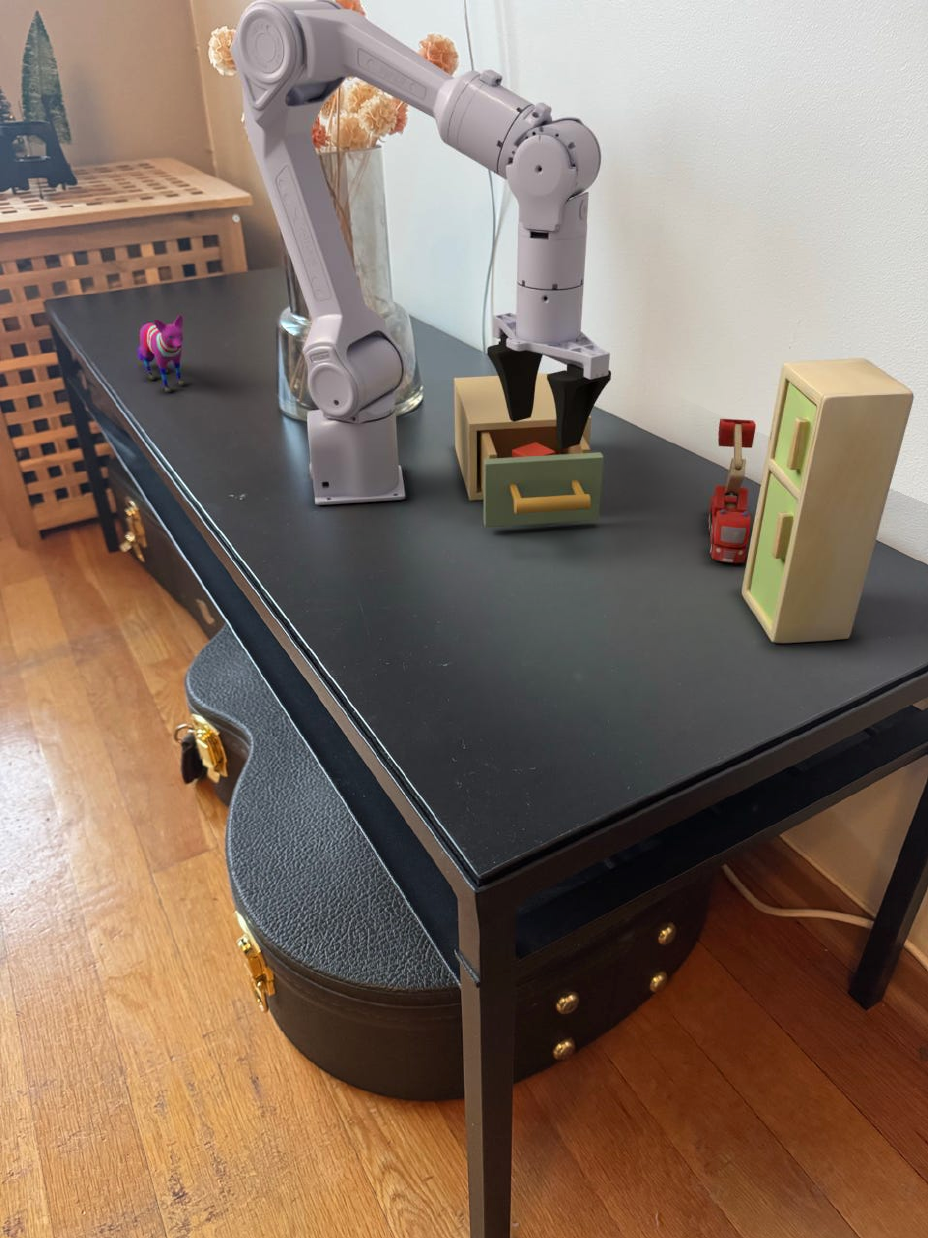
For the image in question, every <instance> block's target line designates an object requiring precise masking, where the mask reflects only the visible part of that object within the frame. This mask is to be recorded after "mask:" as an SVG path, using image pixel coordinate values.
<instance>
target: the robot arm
mask: <svg viewBox="0 0 928 1238" xmlns="http://www.w3.org/2000/svg"><path fill="white" fill-rule="evenodd" d="M235 29H236V30H235V33H234V36H233V38H232V41H231V44H230V47H229V51H230V53H231V57H232V60H233V63H234V65H235V68H236V71H237V75H238V78H239V80H240V83H241V86H242V87H241V88H242V90H241V91H242V105H243V121H244V127H245V132H246V134H247V138H248V141H249V143H250V147H251V149H252V153H253V155H254V158H255V161H256V163H257V166H258V169H259V172H260V175H261V178H262V181H263V184H264V186H265V190H266V193H267V195H268V198H269V201H270V203H271V206H272V209H273V212H274V215H275V218H276V221H277V224H278V226H279V230H280V232H281V235H282V238H283V241H284V244H285V248H286V249H287V252H288V255H289V259H290V261H291V264H292V267H293V269H294V272H295V276H296V279H297V281H298V284H299V287H300V290H301V292H302V295H303V298H304V302H305V304H306V308H307V310H308V313H309V316H310V318H311V319H310V320H311V322H312V323H311V326H310V329H309V332H308V334H307V337H306V340H305V342H304V345H303V348H302V353H303V354H302V355H303V356H304V359H305V362H306V366H307V389H308V392H309V395H310V397H311V399H312V401H313V402H314V404H315V406H316V407H317V408H318V409H316V410H309V411H307V414H306V415H307V417H306V418H307V419H306V420H307V421H306V423H307V439H308V447H309V457H310V462H309V474H310V475H309V476H310V479H311V480H312V484H313V493H314V503H315V505H317V506H324V505H325V506H326V505H339V504H341V505H342V504H354V503H355V504H358V503H369V502H370V503H372V502H388V501H402V500H405V499H406V490H405V483H404V477H403V470H402V466H401V465H399V447H398V428H397V427H398V426H397V412H396V410H397V409H396V401H397V400H398V399H397V397H398V396H397V389H399V388H400V387H401V385H403V382H404V381H405V380H406V376H407V360H406V357H405V354H404V352H403V350H402V348H401V347H400V345H399V344H398V343H397V342H396V340H395V339H394V338H393V336H392V335H391V333H390V331H389V328H388V326H387V322H386V319H385V318H384V317H383V316H382V315H380V314H379V313H378V312H376V311H375V310H373V309H372V308H370V307H369V306H368V305H367V304H366V302H365V299H364V295H363V293H362V290H361V286H360V284H359V280H358V277H357V274H356V270H355V268H354V266H353V261H352V259H351V255H350V252H349V248H348V246H347V242H346V240H345V236H344V233H343V231H342V227H341V223H340V221H339V218H338V214H337V212H336V207H335V205H334V202H333V198H332V196H331V193H330V189H329V187H328V183H327V180H326V178H325V174H324V171H323V168H322V164H321V161H320V159H319V156H318V152H317V149H316V146H315V142H314V140H313V136H312V131H313V129H314V126H315V124H316V121H317V120H318V117H319V115H320V113H321V110H322V108H323V106H324V105H325V104H326V103H327V102H328V101H329V100H330V98H331V97H332V96H333V95H334V94H335V93H336V91H337V90H338V89H339V88H340V87H341V86H342V84H343V83H344V82H345V81H346V80H347V79H348V78H350V77H354V78H357V79H359V80H361V81H363V82H364V83H367V84H368V85H370V86H372V87H374V88H376V89H378V90H380V91H382V92H384V93H386V94H388V95H389V96H391V97H394V98H395V99H397V100H399V101H401V102H403V103H404V104H407V106H410V107H412V108H414V109H416V110H418V111H420V112H422V113H424V114H426V115H427V116H429V117H431V118H433V119H434V121H435V123H436V128H437V131H438V135H439V137H440V139H441V141H442V142H443V143H444V144H446V145H447V146H449V147H451V148H452V149H454V150H456V151H457V152H459V153H461V154H462V155H464V156H465V157H468V158H469V159H471V160H472V161H474V162H475V163H477V164H479V165H481V166H482V167H483V168H486V169H487V170H489V171H490V172H492V173H493V174H495V175H497V176H498V177H500V178H502V179H503V180H506V181H507V184H508V186H509V189H510V191H511V192H512V195H513V196H514V197H515V199H516V201H517V203H518V225H517V262H516V263H517V264H516V265H517V266H516V267H517V268H516V276H517V277H516V304H515V305H516V307H515V308H516V309H515V310H516V312H515V314H514V313H512V312H506V313H501V314H496V315H493V316H492V337H493V338H496V339H499V341H498V342H497V343H498V344H493V345H489V346H488V347H487V349H486V354H487V356H488V359H489V360H490V361H491V364H492V365H493V367H494V369H495V372H496V373H497V376H499V379H500V382H501V385H502V389H503V392H504V396H505V401H506V405H507V409H508V414H509V417H510V420H511V421H513V422H516V421H519V420H523V419H527V418H531V414H532V411H533V405H534V396H535V385H536V379H537V374H539V370H540V366H541V362H542V359H543V356H545V357H548V358H550V359H552V360H554V361H557V362H559V363H561V364H563V365H565V366H566V369H564V370H559V371H555V372H550V373H551V374H547V380H548V382H549V385H550V388H551V391H552V394H553V398H554V403H555V410H556V435H557V442H558V446H559V447H561V448H562V449H565V448H568V447H572V446H575V445H579V444H580V442H581V439H582V436H583V433H584V429H585V426H586V424H587V421H588V418H589V416H591V414H592V411H593V408H594V407H595V404H596V402H597V401H598V399H599V398H600V396H601V394H602V393H603V391H604V390H605V388H606V387H607V385H608V384H609V383H610V381H611V379H612V371H611V370H610V369H609V368H610V360H611V359H610V358H611V353H610V352H609V351H606V350H604V349H602V348H601V347H599V346H598V345H597V344H596V343H595V342H594V341H592V340H591V339H590V338H589V337H588V336H587V335H586V334H585V333H584V332H582V318H583V317H582V316H583V301H584V287H585V286H584V284H585V269H586V256H587V255H586V253H587V239H588V237H587V235H588V212H589V195H590V193H589V192H590V191H587V190H588V189H589V188H590V187H591V186H592V185H593V184H594V182H595V181H596V179H597V178H598V175H599V173H600V169H601V166H602V165H601V164H602V151H601V146H600V143H599V141H598V138H597V137H596V134H595V133H594V132H593V131H592V130H591V129H590V128H589V127H588V126H587V125H585V124H584V122H583V121H582V120H581V118H579V117H576V116H564V117H560V118H556V119H554V120H553V118H552V115H551V114H552V111H553V108H552V107H551V106H549V105H548V104H546V103H545V102H543V101H542V102H541V101H540V102H538V103H536V104H533V103H532V102H531V101H529V100H526V98H523V97H521V96H520V95H518V94H516V93H515V92H513V91H512V90H510V89H508V88H507V87H504V86H503V85H501V84H502V82H503V80H504V79H503V75H502V74H499V73H498V72H497V71H495V70H493V69H486V70H482V71H481V73H480V72H479V71H477V70H469V71H466V72H464V73H462V74H460V75H458V76H456V77H454V76H453V75H451V74H449V73H448V72H446V71H445V70H443V69H442V68H440V67H439V66H437V65H436V64H434V63H433V62H431V61H430V60H428V59H427V58H425V57H424V56H423V55H421V54H419V53H418V52H416V51H415V50H413V49H412V48H411V47H409V46H407V45H406V44H404V43H403V42H402V41H401V40H399V39H397V38H395V37H394V36H393V35H391V34H389V33H388V32H386V31H385V30H383V29H382V28H380V27H379V26H377V25H376V24H375V23H373V22H372V21H370V20H369V19H368V18H367V17H365V16H364V15H363V14H362V13H360V12H359V11H356V10H353V9H349V8H344V6H343V5H341V4H340V3H339V2H336V1H334V0H312V1H306V0H305V1H301V0H300V1H276V0H254V1H253V2H251V3H250V4H249V5H248V6H247V7H246V8H245V9H244V10H243V12H242V14H241V15H240V18H239V20H238V24H237V27H236V28H235Z"/></svg>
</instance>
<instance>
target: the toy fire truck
mask: <svg viewBox="0 0 928 1238" xmlns="http://www.w3.org/2000/svg"><path fill="white" fill-rule="evenodd" d="M756 427H757V426H756V422H755V421H754V419H737V418H736V419H734V418H720V419H719V424H718V434H717V435H718V436H717V437H718V439H717V440H718V441H717V442H718V443H717V444H718V446H719V447H730V448H732V447H733V457H732V458H731V461H730V464H729V469H728V473H727V478H726V482H725V485H719V484H717V485H715V489H714V494H712V495H711V497H710V505H709V511H708V521H707V522H708V523H707V524H708V534H709V540H710V550H709V556H710V557H711V559H712V560H715V561H718V562H723V563H731V564H733V563H735V564H739V563H744V562H745V560H746V559H747V556H748V544H749V540H750V532H751V523H752V519H751V513H749V512H748V503H749V502H748V501H749V488H747V487H742V485H743V482H744V479H745V476H746V475H745V474H746V463H747V459H746V458H743V448H745V449H752V448H753V447H754V446H753V445H754V440H755V433H756ZM731 495H732V496H731Z"/></svg>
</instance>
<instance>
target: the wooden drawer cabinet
mask: <svg viewBox="0 0 928 1238" xmlns="http://www.w3.org/2000/svg"><path fill="white" fill-rule="evenodd" d="M551 373H552V372H547V373H538V374H537V379H536V385H535V396H534V405H533V411H532V414H531V418H527V419H523V420H519V421H516V422H513V421H511V420H510V417H509V414H508V409H507V405H506V401H505V396H504V392H503V389H502V385H501V382H500V379H499V376H498V375H487V376H468V377H454V379H453V389H454V390H453V392H454V394H453V395H454V437H455V438H454V444H455V446H454V447H455V451H456V452H455V453H456V456H457V460H458V463H459V467H460V470H461V471H460V472H461V474H462V478H463V481H464V486H465V489H466V492H467V496H468V500H469V501H484V495H483V492H482V489H481V486H480V482H479V479H478V476H477V431H479V430H497V429H514V428H532V427H550V426H556V410H555V403H554V398H553V394H552V391H551V388H550V385H549V382H548V380H547V374H551ZM591 429H592V415H590V416H589V418H588V421H587V424H586V426H585V429H584V433H583V437H584V439H585V441H586V443H587V444H588V446H589V447H590V443H591V432H592V431H591Z"/></svg>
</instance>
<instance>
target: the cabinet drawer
mask: <svg viewBox="0 0 928 1238" xmlns="http://www.w3.org/2000/svg"><path fill="white" fill-rule="evenodd" d="M535 442H537V443H539V444H541V445H543V446H545V447H547V448H549V449H551V450H553V451H555V455H547V456H530V457H513V458H512V450H513V449H516V448H519V447H522V446H525V445H529V444H532V443H535ZM604 460H605V459H604V455H603V453H602V452H601V451H599V452H591V448H590V445H589V446H588V444H587V443H586V441H585V439H584V437H583V436H582V439H581V442H580V444H579V445H575V446H572V447H568V448H565V449H562V448H561V447H559V446H558V442H557V435H556V426H550V427H532V428H514V429H497V430H479V431H477V476H478V479H479V482H480V486H481V489H482V492H483V495H484V500H483V525H484V528H486V529H487V528H499V527H500V528H503V527H515V526H517V527H518V526H532V525H547V524H562V523H576V522H591V521H592V522H593V521H599V519H600V505H601V497H602V496H601V494H602V484H603V483H602V482H603V471H604Z"/></svg>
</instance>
